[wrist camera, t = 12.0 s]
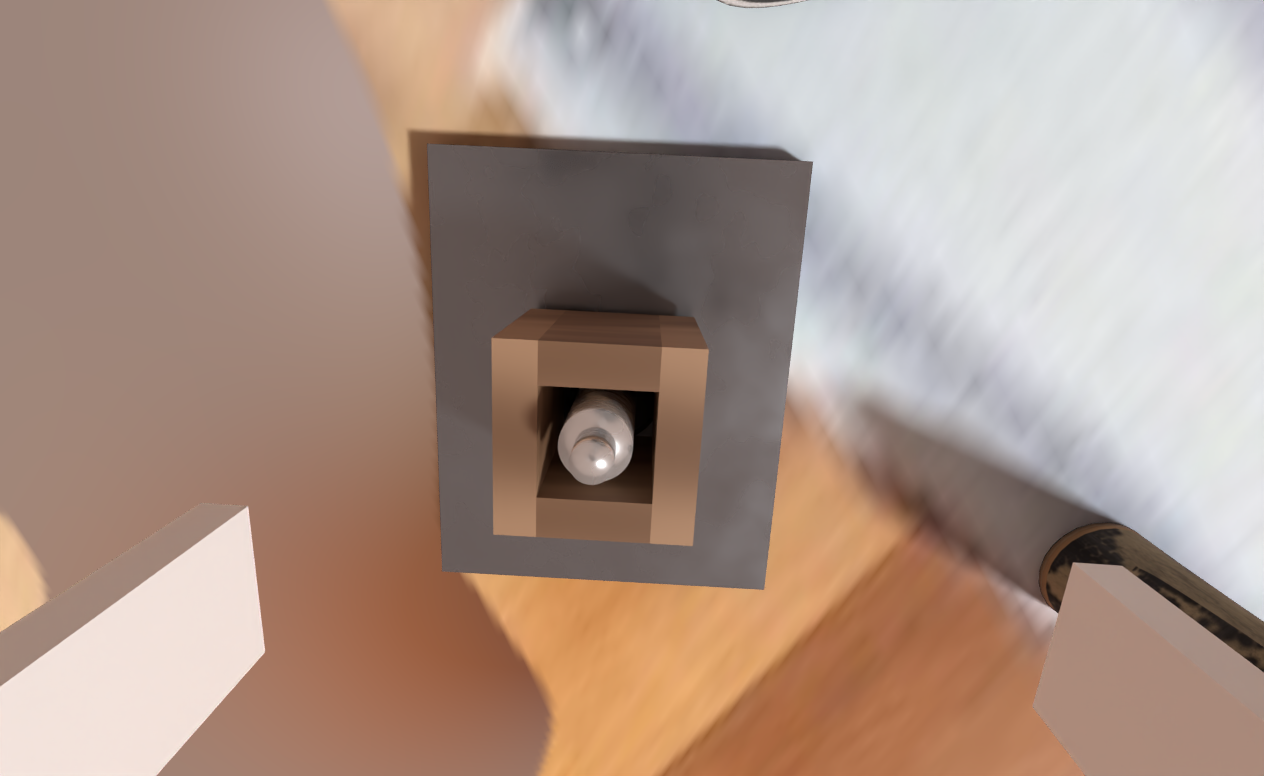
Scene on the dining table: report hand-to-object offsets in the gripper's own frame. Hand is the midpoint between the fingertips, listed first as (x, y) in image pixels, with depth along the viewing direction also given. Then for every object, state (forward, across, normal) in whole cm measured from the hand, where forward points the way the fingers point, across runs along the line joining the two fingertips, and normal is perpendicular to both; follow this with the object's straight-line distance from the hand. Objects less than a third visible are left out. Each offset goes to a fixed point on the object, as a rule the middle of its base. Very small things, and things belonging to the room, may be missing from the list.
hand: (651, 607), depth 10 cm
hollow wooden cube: (+18, -2, -2) cm, 18 cm away
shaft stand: (+20, -2, -2) cm, 20 cm away
